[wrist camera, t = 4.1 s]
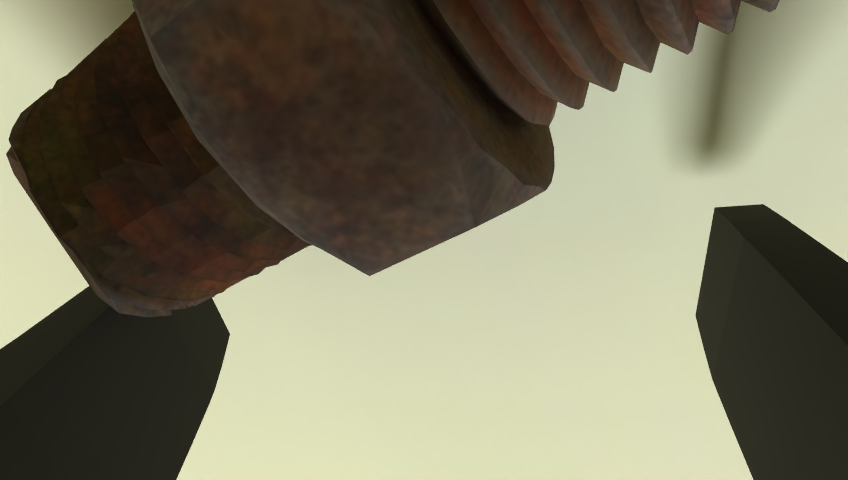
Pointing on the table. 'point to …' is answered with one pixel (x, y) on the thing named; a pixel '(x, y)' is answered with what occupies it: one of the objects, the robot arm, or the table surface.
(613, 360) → the table surface
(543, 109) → the bolt
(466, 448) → the table surface
